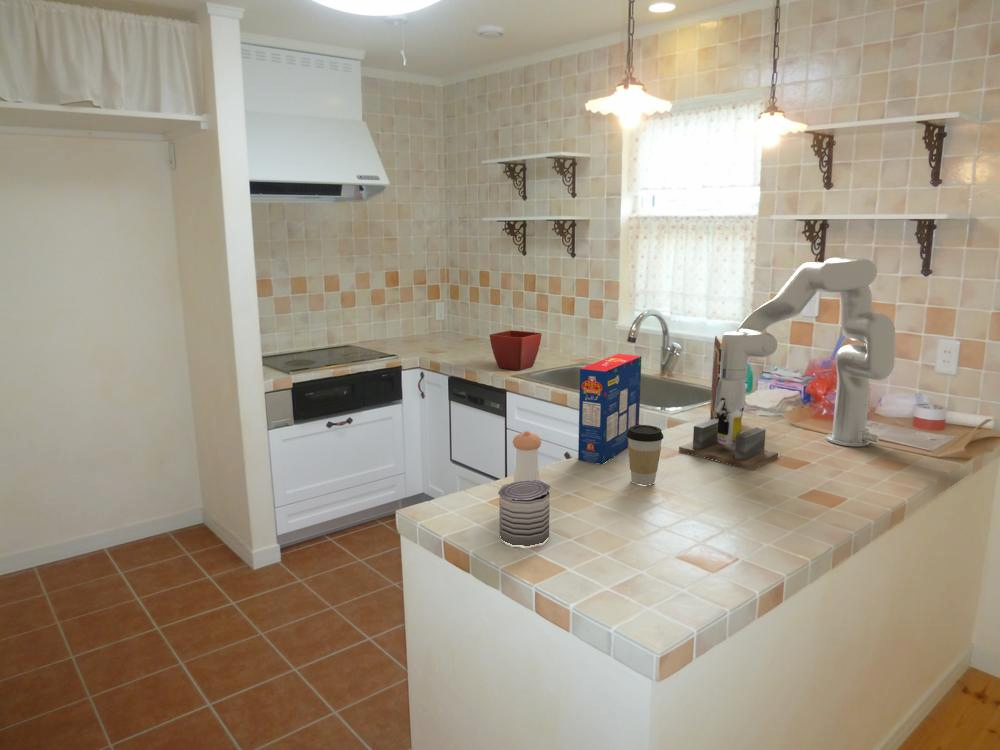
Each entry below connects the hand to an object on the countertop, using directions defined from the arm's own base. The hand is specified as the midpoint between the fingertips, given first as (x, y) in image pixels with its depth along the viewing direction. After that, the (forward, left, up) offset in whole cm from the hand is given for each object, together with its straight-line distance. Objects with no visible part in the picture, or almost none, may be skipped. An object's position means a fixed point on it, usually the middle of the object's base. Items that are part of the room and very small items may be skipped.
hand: (729, 430), depth 213 cm
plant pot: (+141, -48, -8) cm, 149 cm away
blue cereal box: (+28, +22, -8) cm, 36 cm away
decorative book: (+17, -28, -8) cm, 34 cm away
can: (+2, +86, -8) cm, 86 cm away
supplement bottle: (0, 0, -4) cm, 4 cm away
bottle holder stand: (0, 0, -7) cm, 7 cm away
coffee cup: (+4, +38, -8) cm, 39 cm away
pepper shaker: (+15, +72, -8) cm, 74 cm away
